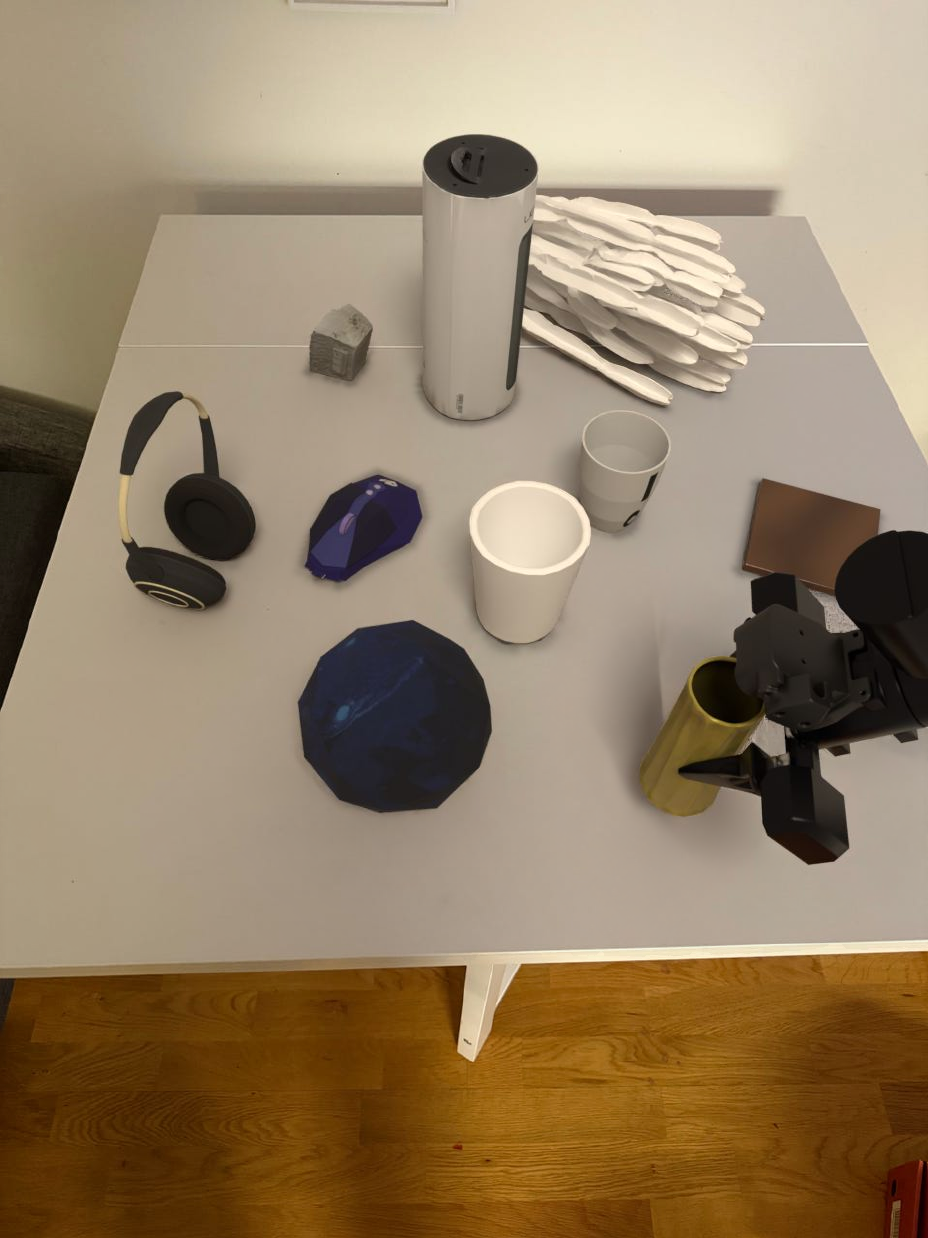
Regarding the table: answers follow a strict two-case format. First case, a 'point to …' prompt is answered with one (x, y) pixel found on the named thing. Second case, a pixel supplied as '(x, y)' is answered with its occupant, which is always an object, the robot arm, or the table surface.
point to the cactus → (636, 294)
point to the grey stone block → (340, 343)
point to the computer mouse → (362, 526)
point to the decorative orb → (395, 718)
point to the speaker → (475, 270)
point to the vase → (699, 736)
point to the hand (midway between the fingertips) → (681, 736)
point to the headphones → (185, 517)
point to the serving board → (806, 534)
